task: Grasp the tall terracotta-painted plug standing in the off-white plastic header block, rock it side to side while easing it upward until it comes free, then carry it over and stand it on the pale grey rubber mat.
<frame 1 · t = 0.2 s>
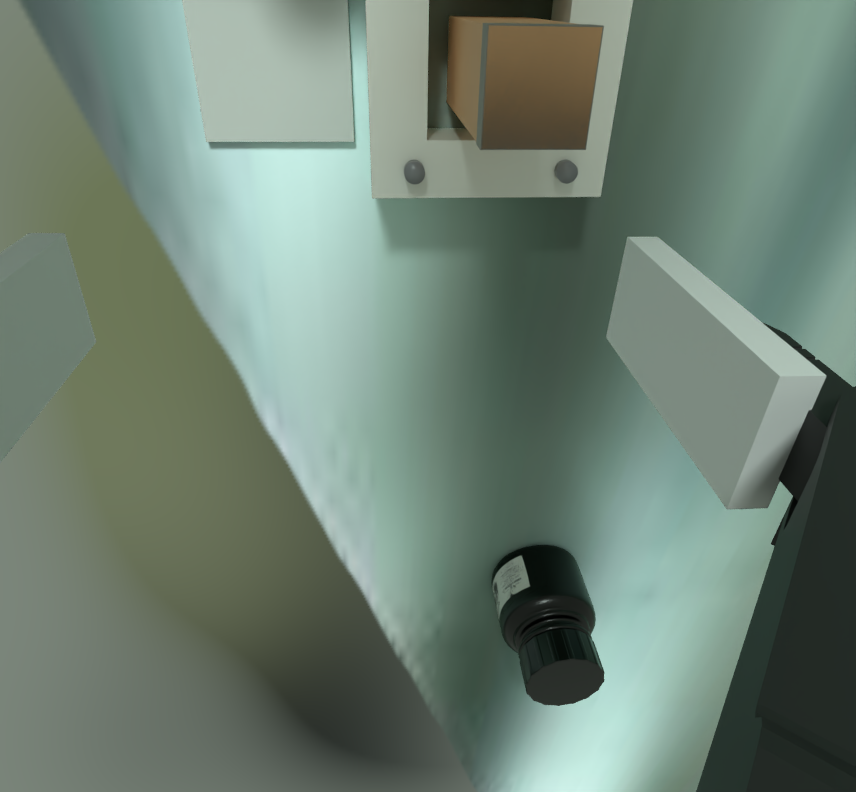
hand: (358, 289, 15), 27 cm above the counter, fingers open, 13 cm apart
plug: (485, 60, 37), resting in header
mat: (272, 58, 36), on the counter
header: (485, 60, 37), on the counter
ink bottle: (533, 571, 62), on the counter
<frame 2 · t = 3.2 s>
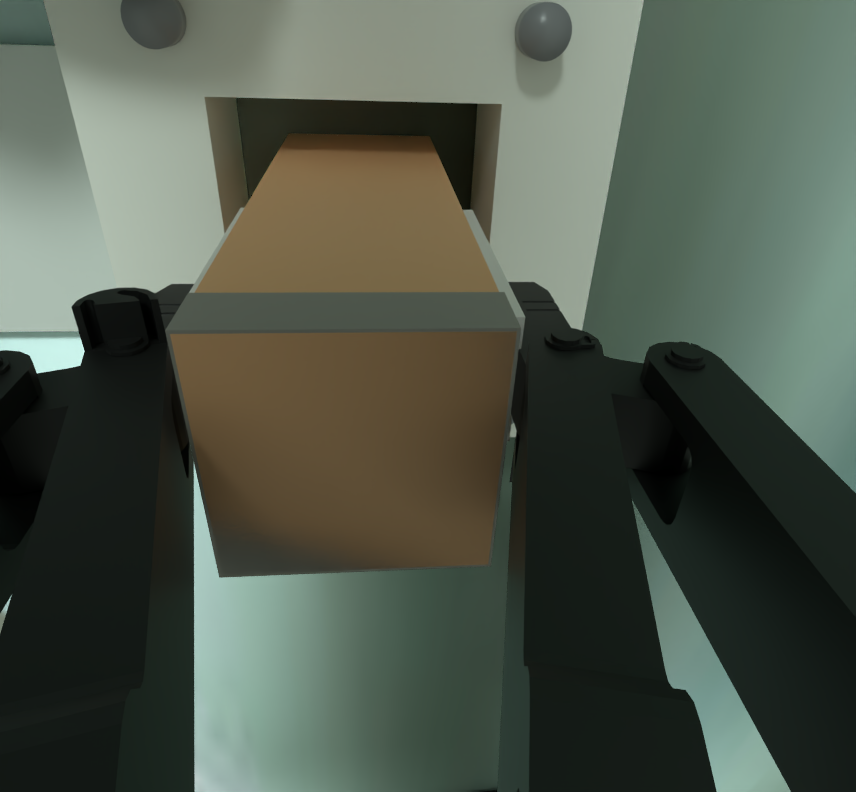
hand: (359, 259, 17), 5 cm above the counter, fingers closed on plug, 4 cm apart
plug: (361, 205, 21), resting in header, touching gripper
header: (361, 205, 21), on the counter
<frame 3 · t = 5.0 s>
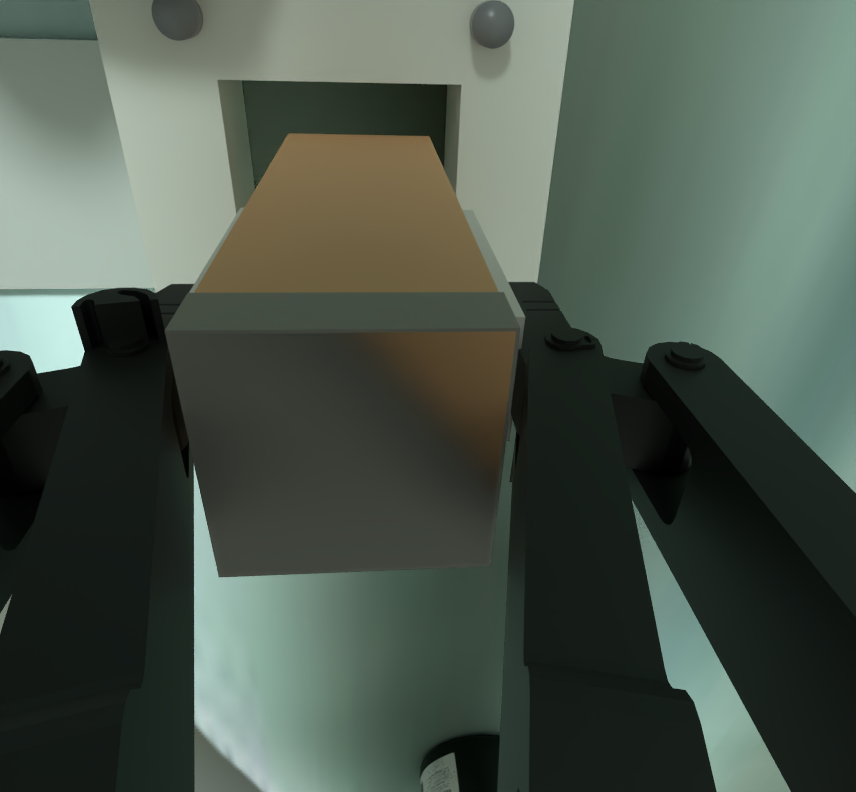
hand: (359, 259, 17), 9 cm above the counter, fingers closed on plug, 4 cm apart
plug: (361, 205, 21), point 4 cm above the counter, touching gripper
mat: (18, 173, 23), on the counter
header: (349, 176, 24), on the counter
ink bottle: (473, 758, 50), on the counter
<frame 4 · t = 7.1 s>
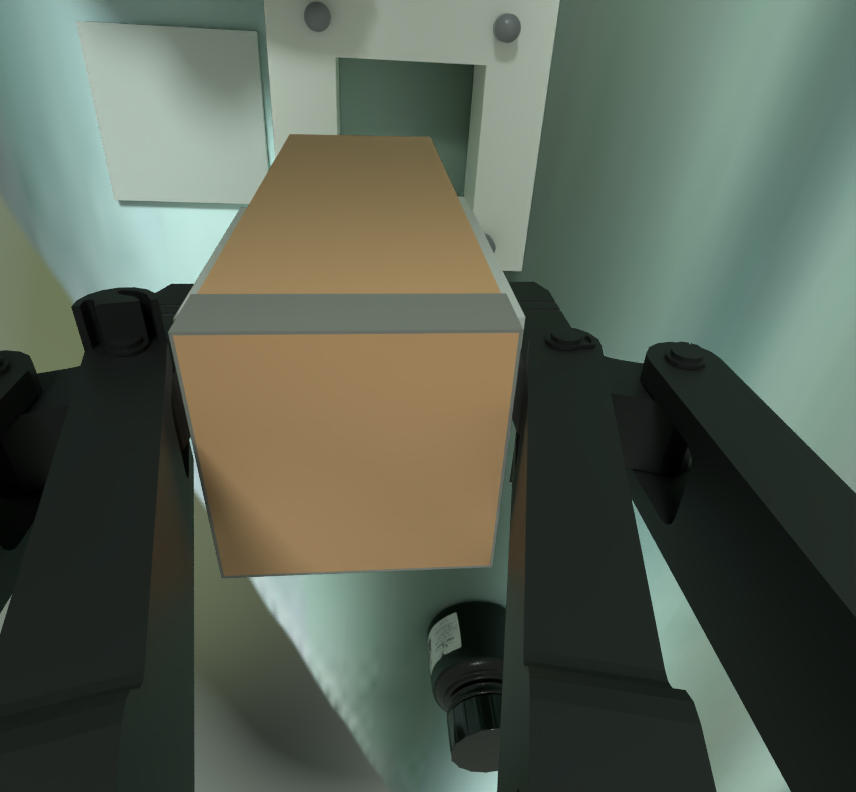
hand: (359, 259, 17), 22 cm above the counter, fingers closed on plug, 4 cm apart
plug: (362, 205, 21), point 17 cm above the counter, touching gripper
mat: (183, 119, 35), on the counter
header: (405, 129, 36), on the counter
ink bottle: (470, 625, 61), on the counter
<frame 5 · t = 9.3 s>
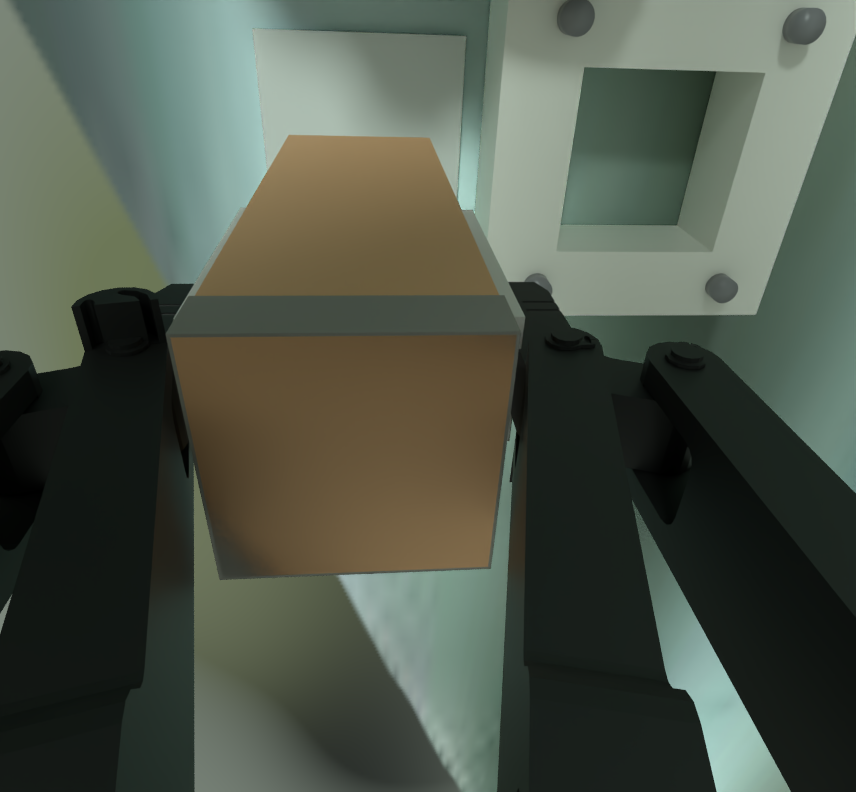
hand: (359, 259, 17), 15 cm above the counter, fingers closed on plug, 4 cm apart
plug: (361, 206, 21), point 9 cm above the counter, touching gripper
mat: (363, 143, 29), on the counter
header: (622, 148, 30), on the counter
when the fingers open (7 cm above the counter, at t = 11.0 s): plug drops 1 cm, resting on mat.
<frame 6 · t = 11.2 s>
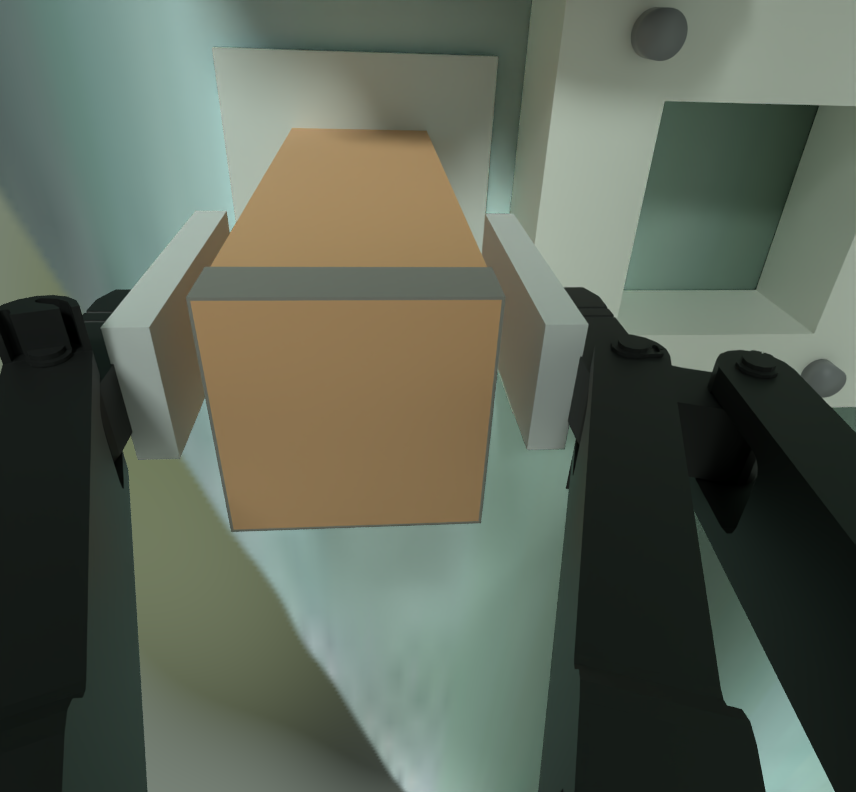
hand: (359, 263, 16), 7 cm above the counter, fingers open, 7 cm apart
plug: (361, 197, 22), resting on mat
mat: (361, 193, 22), on the counter
header: (693, 197, 23), on the counter
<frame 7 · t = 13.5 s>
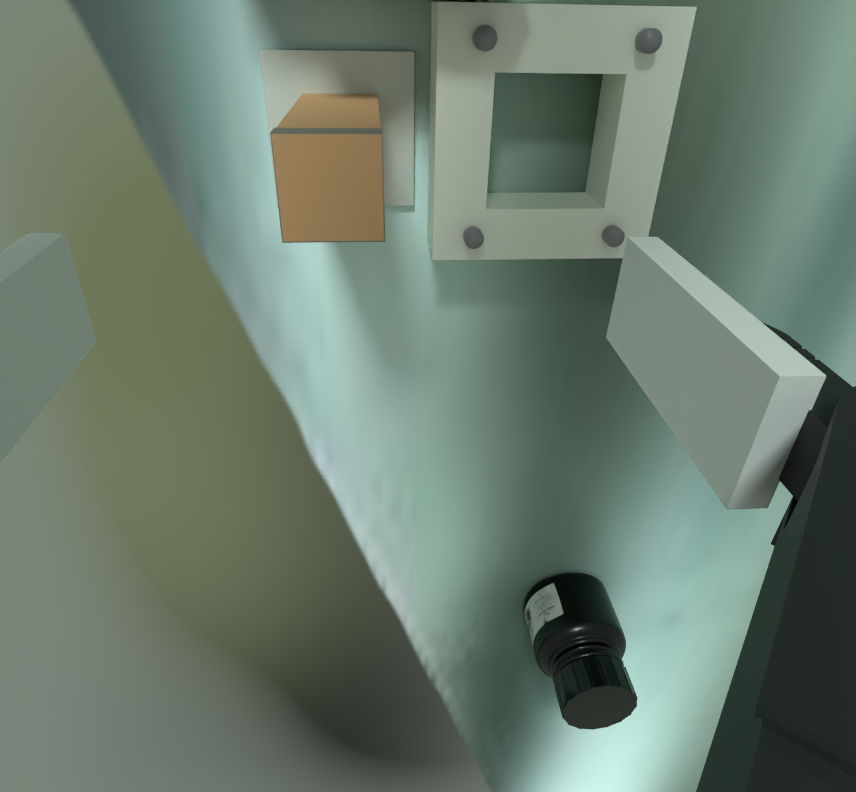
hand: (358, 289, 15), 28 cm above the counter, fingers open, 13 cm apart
plug: (342, 133, 38), resting on mat
mat: (342, 132, 39), on the counter
header: (537, 133, 40), on the counter
ink bottle: (563, 597, 65), on the counter
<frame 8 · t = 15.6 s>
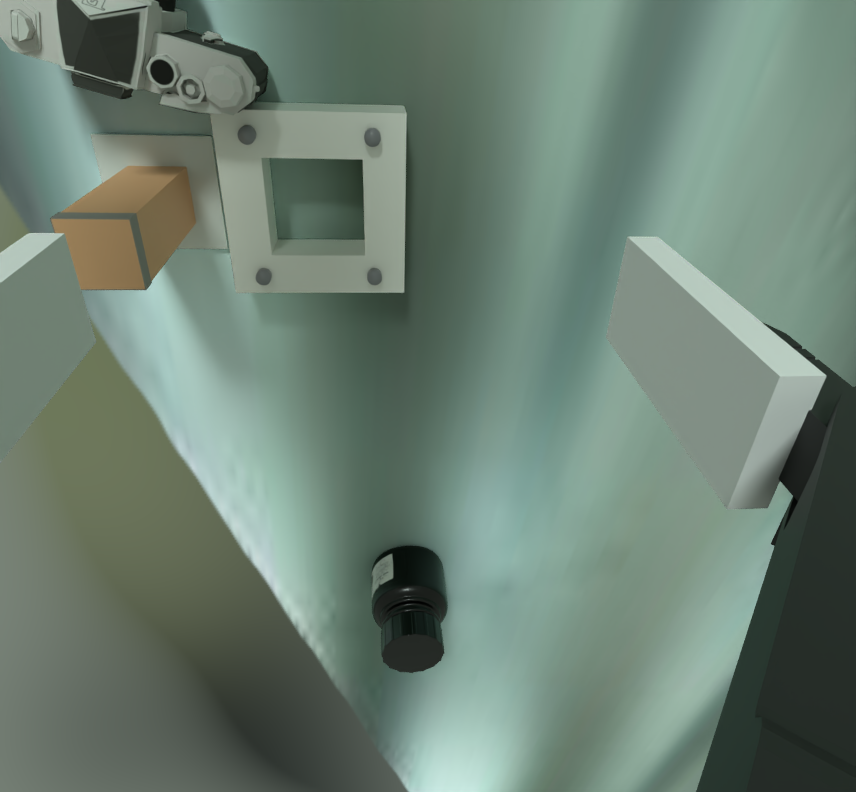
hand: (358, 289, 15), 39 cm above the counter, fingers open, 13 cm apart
plug: (162, 195, 50), resting on mat
camera: (164, 20, 44), on the counter
mat: (164, 193, 50), on the counter
header: (319, 195, 51), on the counter
ink bottle: (407, 566, 77), on the counter
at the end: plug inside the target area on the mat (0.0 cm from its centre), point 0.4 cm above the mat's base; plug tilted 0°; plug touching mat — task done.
